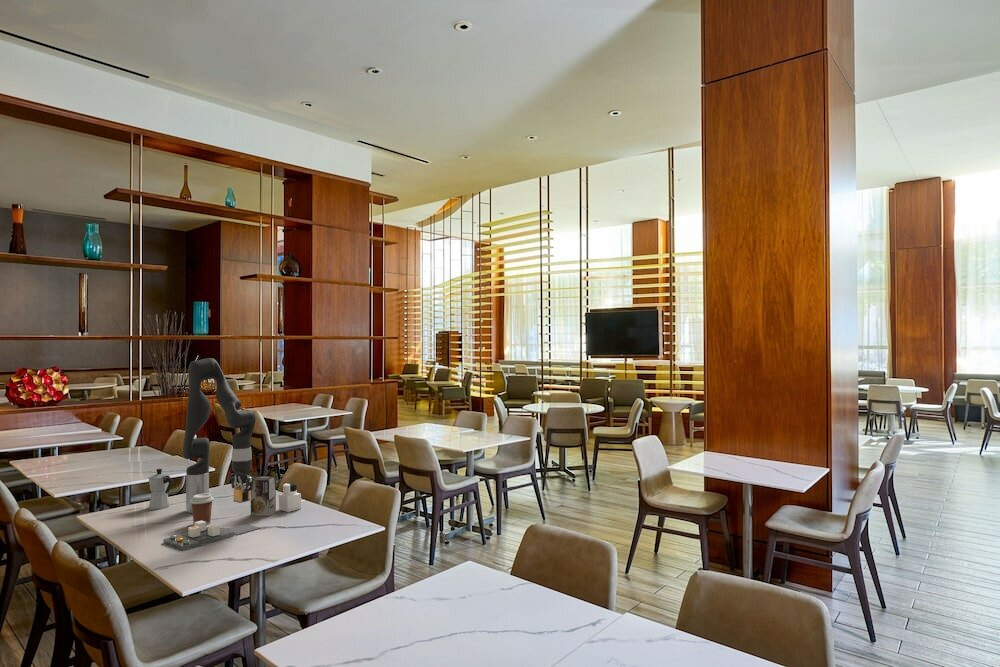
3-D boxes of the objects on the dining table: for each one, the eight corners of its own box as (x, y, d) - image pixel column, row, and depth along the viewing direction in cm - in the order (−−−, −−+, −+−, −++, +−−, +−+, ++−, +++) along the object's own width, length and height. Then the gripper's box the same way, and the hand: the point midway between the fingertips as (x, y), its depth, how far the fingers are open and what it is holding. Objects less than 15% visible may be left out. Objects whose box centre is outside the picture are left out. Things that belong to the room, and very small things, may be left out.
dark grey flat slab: (163, 542, 223) (163, 536, 223) (214, 529, 239) (214, 522, 239) (183, 550, 214) (183, 543, 214) (234, 535, 230) (234, 529, 230)
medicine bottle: (292, 506, 272) (292, 480, 272) (301, 508, 268) (301, 482, 268) (278, 510, 266) (278, 483, 266) (287, 512, 262) (287, 486, 262)
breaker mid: (188, 535, 225) (188, 527, 225) (195, 533, 227) (195, 525, 227) (192, 537, 223) (192, 528, 223) (200, 535, 225) (200, 526, 225)
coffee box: (276, 512, 263) (276, 476, 263) (269, 516, 256) (269, 479, 257) (257, 511, 264) (257, 476, 264) (249, 515, 257) (249, 479, 258)
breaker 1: (194, 530, 232) (194, 522, 232) (201, 528, 234) (201, 520, 234) (199, 531, 230) (199, 523, 230) (206, 529, 232) (206, 521, 232)
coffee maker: (140, 508, 270) (141, 469, 271) (158, 503, 278) (158, 466, 279) (163, 511, 264) (163, 472, 265) (180, 506, 273) (180, 468, 273)
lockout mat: (223, 530, 237) (223, 529, 237) (246, 524, 245) (246, 523, 245) (237, 535, 231) (237, 534, 231) (260, 528, 239) (260, 527, 239)
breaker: (207, 534, 226) (207, 526, 226) (214, 532, 228) (214, 524, 228) (212, 536, 224) (212, 528, 224) (219, 534, 226) (219, 526, 226)
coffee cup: (185, 527, 242) (185, 498, 242) (196, 520, 251) (196, 492, 251) (207, 526, 242) (207, 498, 242) (217, 520, 251) (217, 492, 251)
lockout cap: (233, 501, 237) (233, 487, 238) (243, 498, 241) (243, 485, 241) (239, 503, 235) (239, 488, 235) (250, 500, 239) (250, 486, 239)
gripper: (223, 458, 239) (223, 499, 239) (243, 462, 231) (243, 505, 231) (240, 455, 245) (240, 495, 245) (260, 459, 237) (260, 500, 237)
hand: (241, 500), depth 238 cm, fingers closed on lockout cap, 4 cm apart
